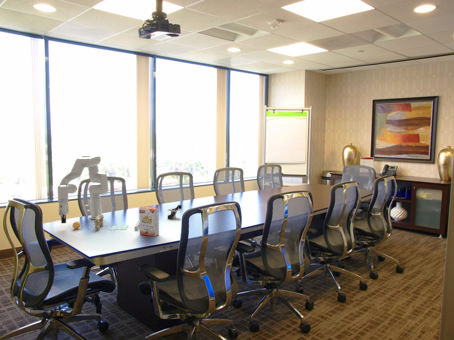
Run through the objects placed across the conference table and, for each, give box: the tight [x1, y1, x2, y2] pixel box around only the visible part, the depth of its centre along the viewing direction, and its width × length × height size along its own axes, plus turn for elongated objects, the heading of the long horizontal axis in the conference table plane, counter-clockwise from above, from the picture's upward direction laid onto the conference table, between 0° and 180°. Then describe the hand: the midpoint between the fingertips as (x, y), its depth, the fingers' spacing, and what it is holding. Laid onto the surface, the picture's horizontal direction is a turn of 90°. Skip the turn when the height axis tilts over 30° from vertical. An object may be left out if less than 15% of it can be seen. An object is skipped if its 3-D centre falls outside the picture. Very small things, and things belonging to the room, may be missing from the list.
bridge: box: [94, 214, 104, 232], centre depth 300 cm, size 3×15×10 cm, turn 6°
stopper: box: [134, 220, 140, 231], centre depth 303 cm, size 20×2×3 cm, turn 6°
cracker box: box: [138, 206, 160, 237], centre depth 279 cm, size 14×6×21 cm, turn 66°
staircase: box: [167, 204, 183, 220], centre depth 336 cm, size 9×10×12 cm
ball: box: [72, 221, 81, 230], centre depth 298 cm, size 6×6×6 cm
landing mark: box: [109, 224, 129, 231], centre depth 302 cm, size 13×13×1 cm
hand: (63, 223), depth 296 cm, fingers closed
